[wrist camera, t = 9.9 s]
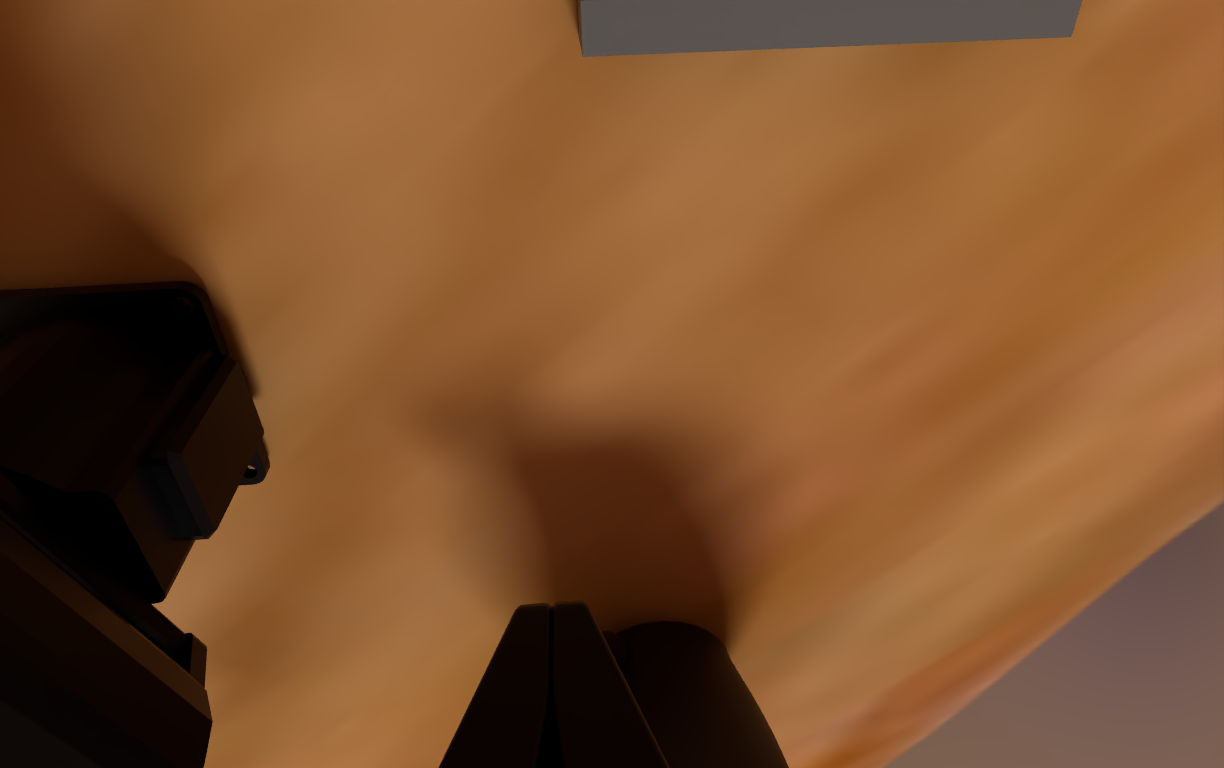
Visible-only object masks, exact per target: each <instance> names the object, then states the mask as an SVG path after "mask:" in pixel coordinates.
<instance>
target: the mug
mask: <svg viewBox="0 0 1224 768" xmlns="http://www.w3.org/2000/svg"><path fill="white" fill-rule="evenodd" d="M602 634H603V636H604V638H605V640H606V642H607V644H608V646H609V648H610V650H611V652H612V654H613V656H614V658H615V660H616V662H617V664H618V666H619V668H620V670H621V672H622V674H623V676H624V678H625V680H626V682H627V684H628V686H629V688H630V690H631V692H632V694H633V696H634V698H635V700H636V702H637V704H638V706H639V708H640V710H641V712H642V714H643V716H644V718H645V720H646V722H647V724H648V726H649V728H650V730H651V732H652V734H653V736H654V738H655V740H656V742H657V744H658V746H659V748H660V750H661V752H662V754H663V756H664V758H665V760H666V762H667V764H668V766H669V768H789V767H788V765H787V762H786V760H785V758H784V756H783V754H782V751H781V749H780V747H779V745H778V743H777V740H776V738H775V736H774V734H773V732H772V730H771V728H770V727H769V725H768V723H767V721H766V719H765V717H764V715H763V713H762V711H761V709H760V708H759V706H758V704H757V703H756V701H755V699H754V697H753V696H752V694H751V692H750V691H749V689H748V687H747V686H746V684H745V682H744V681H743V679H742V678H741V676H740V674H739V673H738V671H737V669H736V668H735V666H734V664H733V663H732V661H731V659H730V657H729V655H728V653H727V650H726V648H725V647H724V646H723V644H722V643H721V642H720V640H719V639H718V638H717V637H715V636H714V635H713V634H711V633H710V632H708V631H707V630H704V629H702V628H700V627H697V626H694V625H690V624H685V623H678V622H657V623H648V624H644V625H640V626H635V627H632V628H630V629H627V630H625V631H622V632H620V633H618V634H615V633H613V632H610V631H603V632H602Z"/></svg>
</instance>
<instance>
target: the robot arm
mask: <svg viewBox="0 0 1224 768" xmlns="http://www.w3.org/2000/svg"><path fill="white" fill-rule="evenodd" d="M178 297H181V298H185V299H187V300H188V301H190V302H191V304H192V305H193V308H191V307H186V306H184V305H182V304H181V303H180V301H179V300H178ZM263 435H264V429H263V427H262V424H261V421H260V418H259V416H258V413H257V410H256V408H255V405H254V402H253V399H252V397H251V394H250V391H249V388H248V386H247V383H246V380H245V377H244V375H243V372H242V369H241V367H240V364H239V362H238V361H237V360H236V359H235V358H234V357H233V356H231V355H230V354H229V351H228V349H227V346H226V343H225V341H224V338H223V335H222V332H221V330H220V327H219V324H218V322H217V319H216V316H215V314H214V311H213V308H212V306H211V303H210V300H209V298H208V296H207V294H206V293H205V291H204V290H203V289H201V288H200V287H199V286H198V285H195V284H193V283H191V282H185V281H176V282H157V283H138V284H119V285H100V286H81V287H62V288H44V289H25V290H6V291H0V768H203V767H204V764H205V758H206V753H207V748H208V743H209V738H210V732H211V727H212V716H211V711H210V706H209V701H208V695H207V691H206V690H205V689H204V688H205V672H206V656H207V647H206V646H205V645H204V644H203V643H202V642H201V641H200V640H199V639H198V638H196V637H195V636H194V635H193V634H192V633H184V632H183V631H181V630H180V629H179V628H178V627H177V626H176V625H175V624H173V623H172V622H171V621H170V620H169V619H168V618H167V617H165V616H164V615H163V614H162V613H161V612H160V611H159V610H157V609H156V608H155V607H154V606H153V605H152V604H155V603H159V602H162V601H163V600H164V599H165V598H166V596H167V594H168V592H169V590H170V588H171V586H172V584H173V583H174V581H175V579H176V577H177V575H178V573H179V571H180V569H181V567H182V565H183V563H184V561H185V559H186V557H187V555H188V553H189V551H190V549H191V548H192V546H193V544H194V542H195V540H200V539H209V538H210V537H211V536H212V534H213V533H214V532H215V531H216V530H217V528H218V526H219V524H220V522H221V520H222V518H223V516H224V514H225V512H226V510H227V508H228V506H229V504H230V502H231V500H232V498H233V496H234V494H235V492H236V490H237V488H238V486H239V485H252V484H257V483H260V482H262V481H263V480H264V479H265V477H266V474H267V472H268V470H269V468H270V462H269V459H268V456H267V454H266V451H265V448H264V446H263V443H262V440H261V439H262V437H263ZM248 465H249V466H252V467H254V468H255V469H250V468H248ZM439 768H669V766H668V764H667V762H666V760H665V758H664V756H663V754H662V752H661V750H660V748H659V746H658V744H657V742H656V740H655V738H654V736H653V734H652V732H651V730H650V728H649V726H648V724H647V722H646V720H645V718H644V716H643V714H642V712H641V710H640V708H639V706H638V704H637V702H636V700H635V698H634V696H633V694H632V692H631V690H630V688H629V686H628V684H627V682H626V680H625V678H624V676H623V674H622V672H621V670H620V668H619V666H618V664H617V662H616V660H615V658H614V656H613V654H612V652H611V650H610V648H609V646H608V644H607V642H606V640H605V638H604V636H603V634H602V632H601V630H600V628H599V626H598V624H597V622H596V620H595V618H594V616H593V614H592V612H591V610H590V608H589V607H588V605H587V604H586V603H585V602H584V601H566V602H557V603H555V604H554V605H553V607H552V608H551V606H550V605H549V604H547V603H539V604H525V605H520V606H519V607H518V608H517V609H516V610H515V612H514V613H513V615H512V617H511V620H510V622H509V624H508V626H507V628H506V630H505V632H504V634H503V636H502V638H501V640H500V642H499V644H498V646H497V648H496V650H495V653H494V655H493V657H492V659H491V661H490V663H489V665H488V667H487V669H486V671H485V673H484V675H483V677H482V679H481V681H480V683H479V685H478V688H477V690H476V692H475V694H474V696H473V698H472V700H471V702H470V704H469V706H468V708H467V710H466V712H465V714H464V716H463V718H462V720H461V723H460V725H459V727H458V729H457V731H456V733H455V735H454V737H453V739H452V741H451V743H450V745H449V747H448V749H447V751H446V753H445V756H444V758H443V760H442V762H441V764H440V766H439Z"/></svg>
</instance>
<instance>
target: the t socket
mask: <svg viewBox="0 0 1224 768" xmlns="http://www.w3.org/2000/svg"><path fill="white" fill-rule="evenodd" d="M1081 3H1082V0H577V4H578V27H579V40H580V45H581V50H582V55H583V57H587V56H612V55H637V54H662V53H687V52H711V51H736V50H761V49H786V48H811V47H835V46H860V45H885V44H910V43H935V42H960V41H984V40H1009V39H1034V38H1059V37H1071V36H1072V33H1073V29H1074V26H1075V23H1076V19H1077V16H1078V13H1079V9H1080V6H1081Z"/></svg>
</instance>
